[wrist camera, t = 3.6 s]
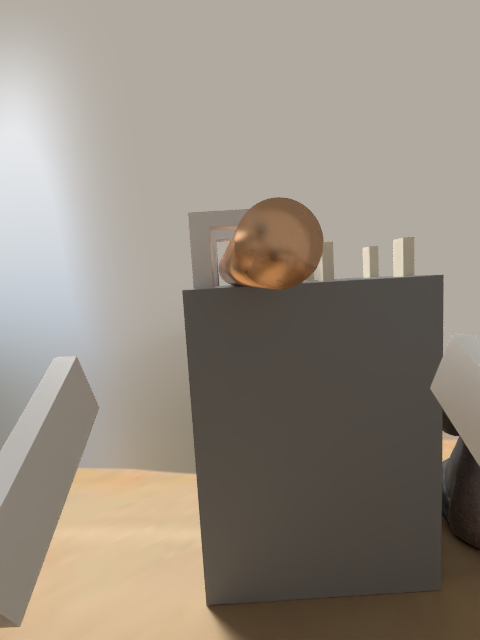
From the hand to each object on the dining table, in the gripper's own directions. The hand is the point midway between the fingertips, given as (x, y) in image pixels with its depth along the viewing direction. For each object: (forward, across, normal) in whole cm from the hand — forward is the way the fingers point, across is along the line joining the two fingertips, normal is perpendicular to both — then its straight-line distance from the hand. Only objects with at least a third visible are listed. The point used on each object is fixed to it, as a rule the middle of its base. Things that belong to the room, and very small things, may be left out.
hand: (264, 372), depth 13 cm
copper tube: (+16, -1, -5) cm, 17 cm away
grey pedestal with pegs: (+8, +5, -34) cm, 35 cm away
